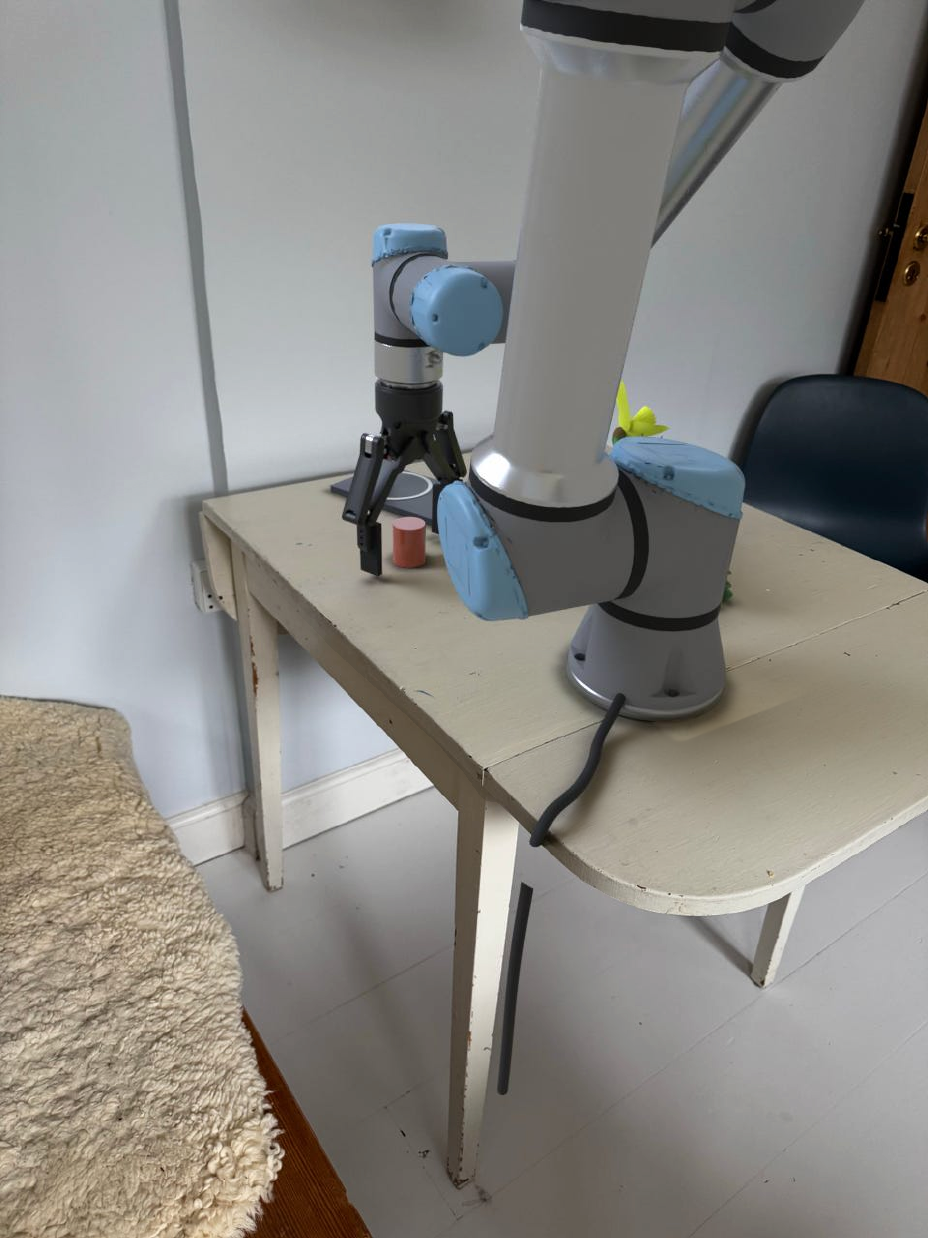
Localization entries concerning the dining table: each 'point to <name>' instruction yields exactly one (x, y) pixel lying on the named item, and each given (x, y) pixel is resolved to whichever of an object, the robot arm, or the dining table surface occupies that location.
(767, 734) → the dining table surface
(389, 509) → the slate board
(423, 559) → the red cylinder block
